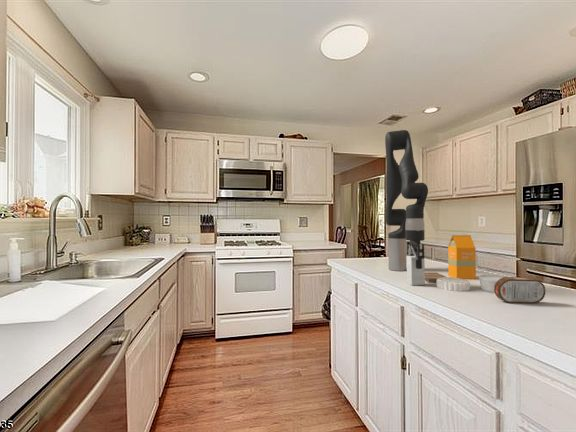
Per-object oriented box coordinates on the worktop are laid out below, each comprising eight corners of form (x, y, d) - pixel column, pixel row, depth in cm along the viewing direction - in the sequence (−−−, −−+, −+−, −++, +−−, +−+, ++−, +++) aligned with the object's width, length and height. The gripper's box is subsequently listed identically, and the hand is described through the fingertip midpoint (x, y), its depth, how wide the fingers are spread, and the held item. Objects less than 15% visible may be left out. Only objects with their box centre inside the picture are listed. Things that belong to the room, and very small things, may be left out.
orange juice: (476, 279, 139) (475, 235, 139) (456, 279, 139) (456, 235, 139) (466, 275, 147) (466, 234, 147) (448, 275, 147) (447, 234, 147)
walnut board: (415, 275, 148) (415, 272, 148) (436, 275, 147) (436, 272, 147) (428, 282, 132) (428, 279, 132) (452, 282, 131) (452, 279, 131)
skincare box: (419, 283, 131) (419, 255, 131) (425, 285, 127) (425, 256, 127) (406, 283, 130) (406, 255, 130) (411, 285, 126) (411, 257, 126)
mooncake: (429, 286, 126) (429, 277, 126) (451, 283, 130) (451, 275, 130) (454, 292, 115) (454, 283, 115) (477, 290, 119) (477, 281, 119)
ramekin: (520, 295, 110) (520, 280, 110) (486, 294, 112) (486, 279, 112) (505, 288, 121) (504, 275, 121) (474, 287, 123) (474, 274, 123)
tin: (540, 301, 102) (540, 276, 102) (547, 304, 99) (547, 278, 99) (493, 300, 103) (493, 276, 103) (499, 303, 100) (498, 278, 100)
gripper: (400, 228, 136) (401, 264, 136) (411, 229, 122) (411, 269, 121) (417, 228, 135) (418, 264, 135) (430, 229, 121) (431, 270, 121)
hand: (415, 267), depth 128 cm, fingers open, 8 cm apart
